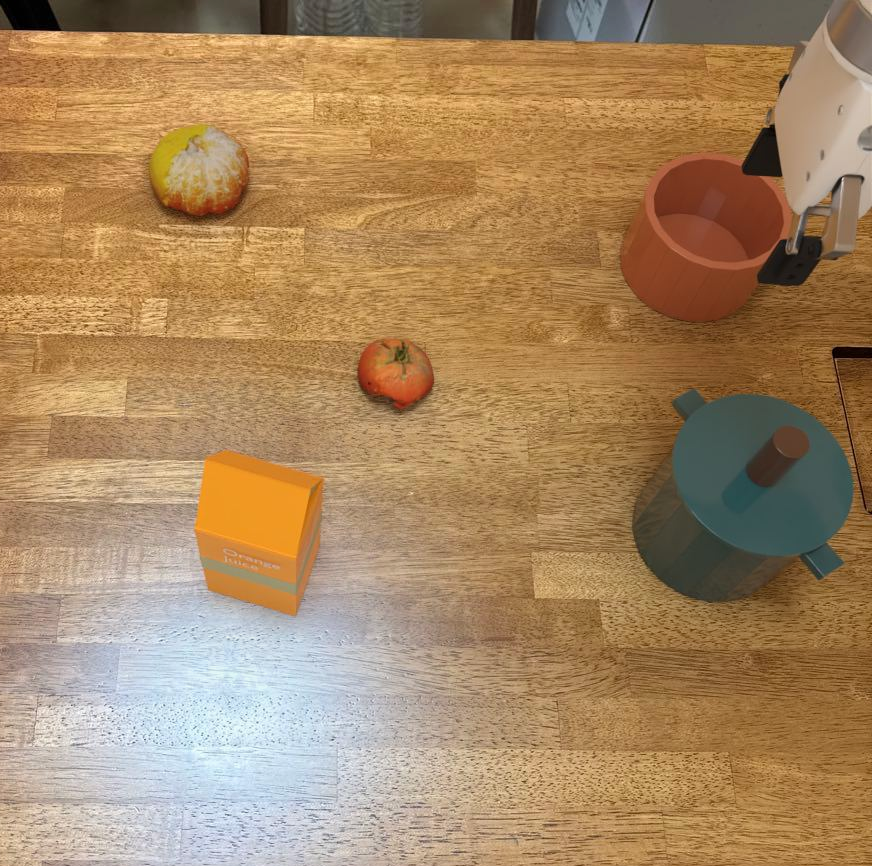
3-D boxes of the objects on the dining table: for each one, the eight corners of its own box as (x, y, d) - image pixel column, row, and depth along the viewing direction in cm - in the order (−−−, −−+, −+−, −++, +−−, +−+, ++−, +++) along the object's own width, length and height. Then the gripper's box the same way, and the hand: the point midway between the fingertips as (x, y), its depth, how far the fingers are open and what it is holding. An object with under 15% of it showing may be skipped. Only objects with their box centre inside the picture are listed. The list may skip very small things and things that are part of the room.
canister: (696, 192, 116) (727, 132, 108) (783, 285, 112) (822, 230, 103) (592, 245, 113) (616, 188, 105) (678, 344, 108) (709, 292, 100)
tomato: (453, 396, 103) (410, 370, 98) (402, 435, 106) (358, 411, 101) (429, 339, 107) (387, 311, 102) (380, 378, 110) (337, 353, 105)
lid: (765, 373, 93) (799, 330, 87) (884, 506, 88) (928, 471, 82) (632, 450, 89) (657, 411, 83) (748, 593, 85) (783, 563, 78)
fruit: (182, 242, 111) (162, 177, 104) (145, 198, 117) (124, 134, 110) (272, 201, 113) (258, 135, 107) (231, 160, 119) (215, 95, 113)
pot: (698, 421, 105) (748, 354, 93) (830, 578, 98) (901, 526, 87) (585, 487, 101) (623, 425, 90) (715, 653, 95) (773, 609, 83)
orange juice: (296, 618, 95) (296, 533, 77) (206, 590, 96) (185, 500, 77) (320, 544, 98) (327, 445, 79) (233, 518, 99) (219, 415, 80)
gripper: (999, 142, 54) (839, 330, 70) (938, -81, 61) (805, 136, 76) (858, 133, 54) (730, 323, 69) (813, -89, 60) (706, 130, 76)
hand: (769, 225), depth 73 cm, fingers open, 9 cm apart
